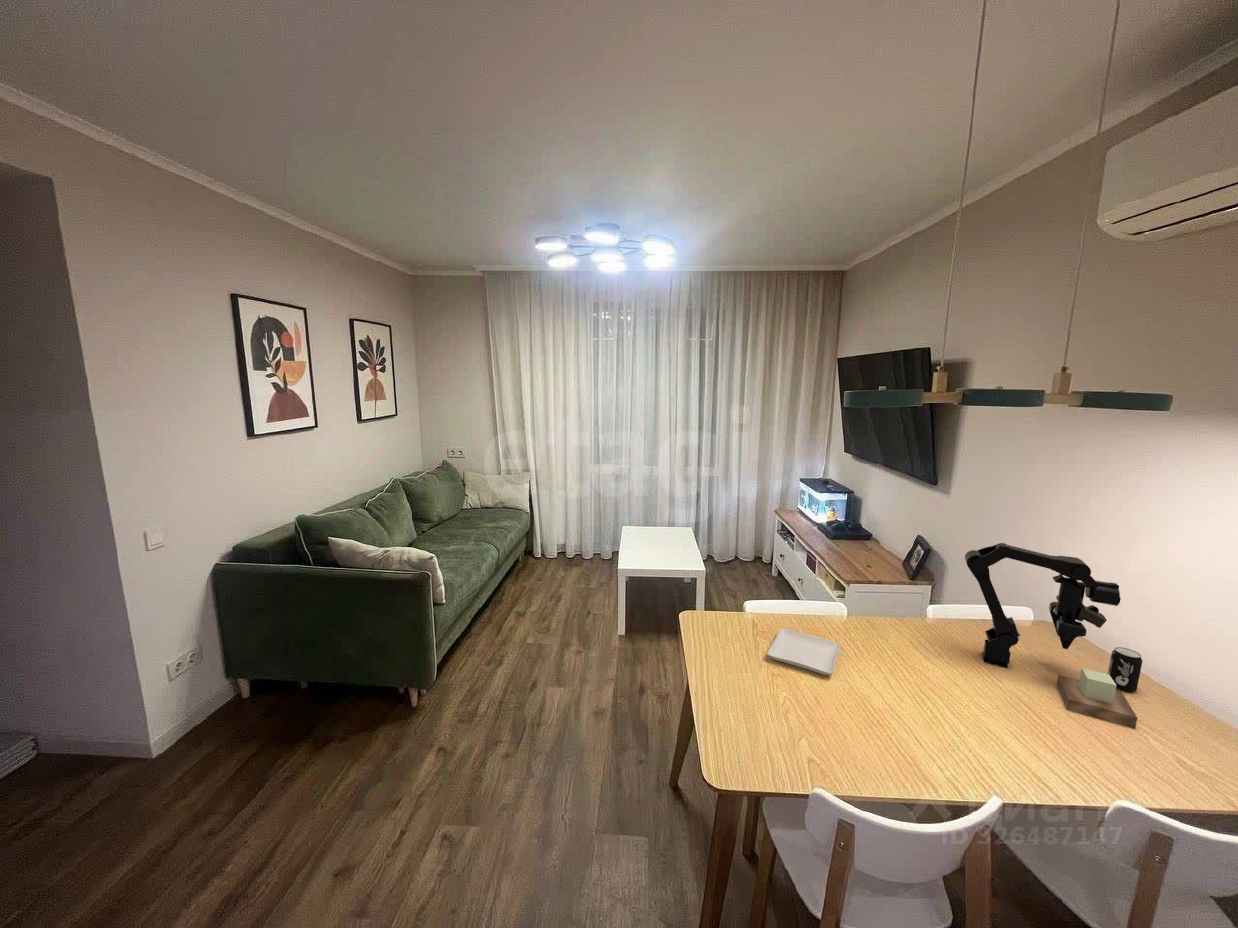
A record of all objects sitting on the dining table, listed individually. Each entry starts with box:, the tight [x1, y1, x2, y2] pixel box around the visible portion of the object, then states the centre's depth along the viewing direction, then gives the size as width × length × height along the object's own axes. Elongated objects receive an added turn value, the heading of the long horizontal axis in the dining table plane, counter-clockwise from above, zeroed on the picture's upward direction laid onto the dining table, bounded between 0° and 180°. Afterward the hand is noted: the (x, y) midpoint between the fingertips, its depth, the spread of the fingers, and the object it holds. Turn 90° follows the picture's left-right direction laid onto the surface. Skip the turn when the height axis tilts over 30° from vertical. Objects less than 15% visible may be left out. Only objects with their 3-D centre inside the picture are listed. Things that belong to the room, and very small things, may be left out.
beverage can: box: [1107, 646, 1143, 693], centre depth 147 cm, size 7×7×12 cm
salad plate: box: [766, 627, 842, 676], centre depth 164 cm, size 21×21×3 cm
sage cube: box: [1078, 667, 1117, 704], centre depth 138 cm, size 6×6×6 cm
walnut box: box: [1056, 674, 1138, 730], centre depth 139 cm, size 14×14×4 cm
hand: (1062, 642), depth 152 cm, fingers open, 9 cm apart
